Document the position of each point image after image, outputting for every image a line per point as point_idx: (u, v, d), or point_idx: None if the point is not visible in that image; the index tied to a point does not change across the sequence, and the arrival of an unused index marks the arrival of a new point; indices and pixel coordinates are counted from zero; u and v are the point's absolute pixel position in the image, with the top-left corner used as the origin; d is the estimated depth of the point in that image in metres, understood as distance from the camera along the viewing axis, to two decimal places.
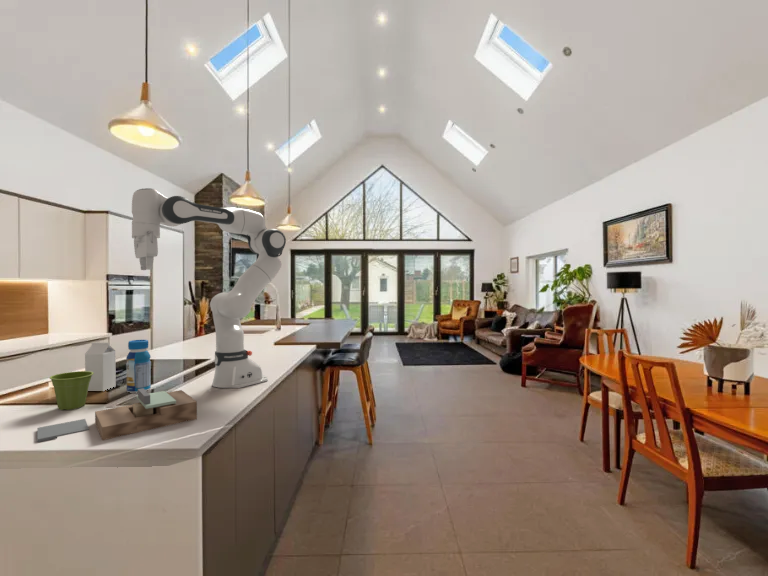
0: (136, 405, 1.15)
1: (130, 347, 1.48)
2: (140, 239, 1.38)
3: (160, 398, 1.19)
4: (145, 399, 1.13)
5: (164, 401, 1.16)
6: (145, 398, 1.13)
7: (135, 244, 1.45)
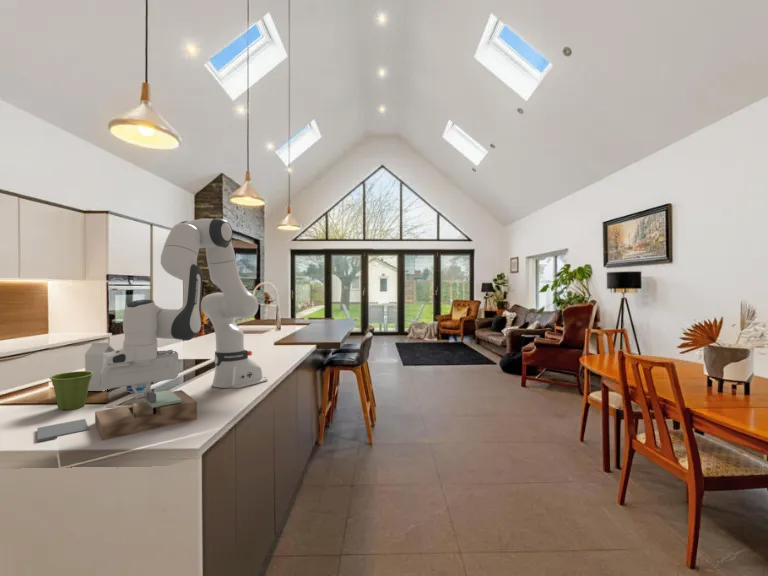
0: (136, 405, 1.15)
1: None
2: (150, 362, 1.16)
3: (166, 397, 1.20)
4: (151, 398, 1.14)
5: (170, 400, 1.17)
6: (151, 397, 1.14)
7: (110, 371, 1.10)
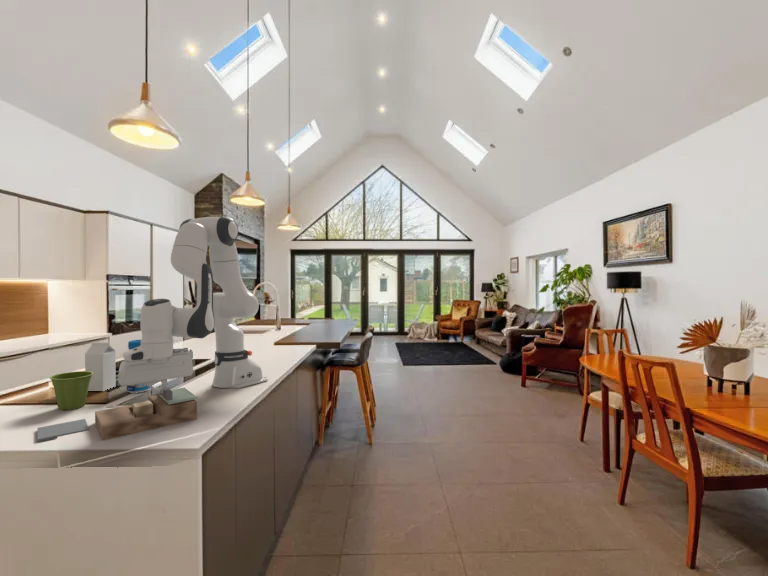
0: (136, 405, 1.15)
1: (130, 347, 1.48)
2: (167, 360, 1.19)
3: (181, 394, 1.23)
4: (168, 395, 1.17)
5: (185, 397, 1.20)
6: (168, 394, 1.17)
7: (128, 368, 1.12)
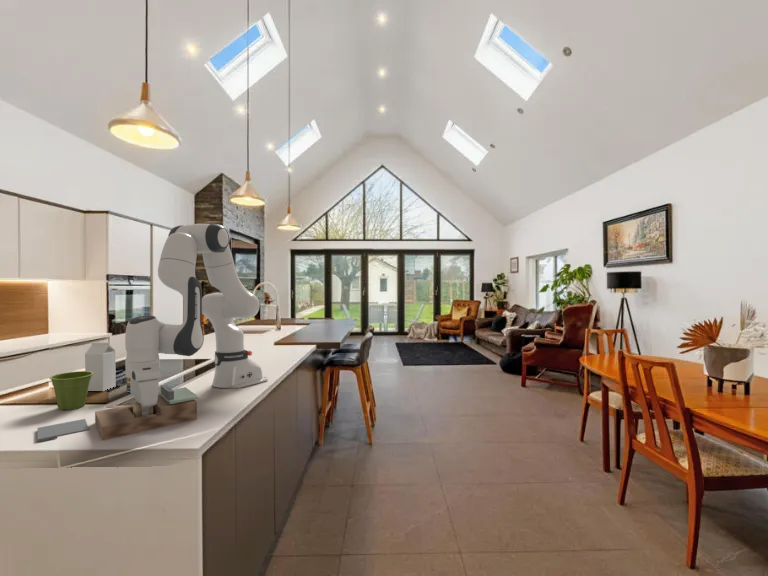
0: (136, 405, 1.15)
1: None
2: None
3: (182, 394, 1.23)
4: (169, 395, 1.17)
5: (187, 397, 1.20)
6: (169, 394, 1.17)
7: None
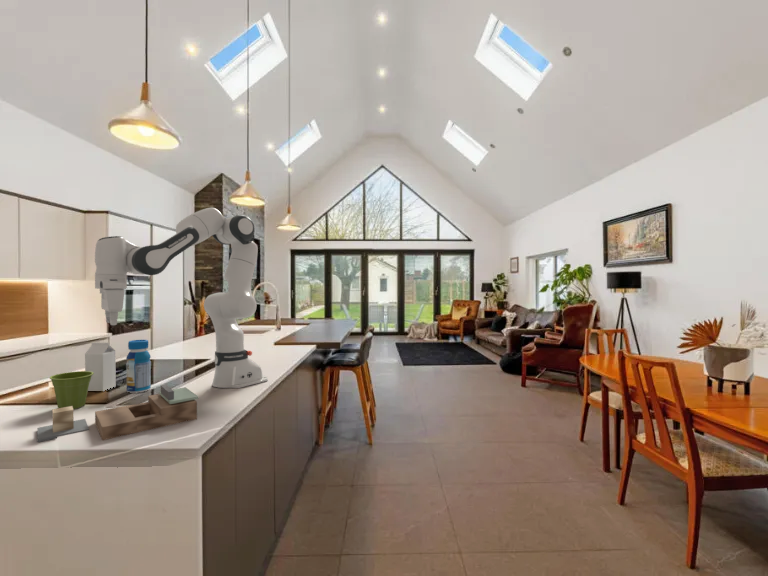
0: (54, 411, 1.09)
1: (130, 347, 1.48)
2: None
3: (182, 394, 1.23)
4: (169, 395, 1.17)
5: (187, 397, 1.20)
6: (169, 394, 1.17)
7: None
